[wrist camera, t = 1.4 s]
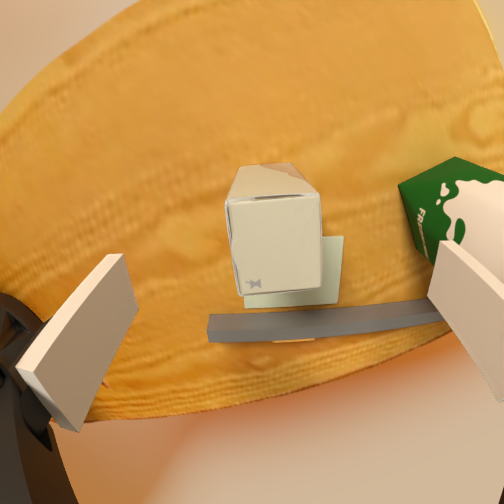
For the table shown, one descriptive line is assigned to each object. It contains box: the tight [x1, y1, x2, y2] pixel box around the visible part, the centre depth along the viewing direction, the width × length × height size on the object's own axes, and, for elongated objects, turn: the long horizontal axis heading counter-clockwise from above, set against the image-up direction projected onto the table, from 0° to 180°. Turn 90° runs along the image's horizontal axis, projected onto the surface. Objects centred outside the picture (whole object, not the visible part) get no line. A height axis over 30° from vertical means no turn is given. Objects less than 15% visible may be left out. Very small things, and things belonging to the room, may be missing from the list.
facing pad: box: [244, 236, 344, 309], centre depth 27 cm, size 9×7×1 cm
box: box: [225, 163, 322, 297], centre depth 18 cm, size 5×4×11 cm
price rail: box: [207, 298, 445, 343], centre depth 28 cm, size 26×2×2 cm, turn 93°
